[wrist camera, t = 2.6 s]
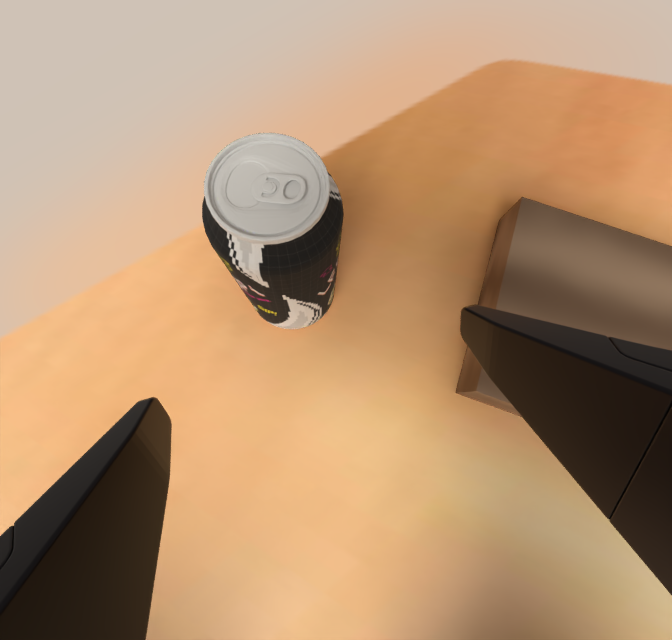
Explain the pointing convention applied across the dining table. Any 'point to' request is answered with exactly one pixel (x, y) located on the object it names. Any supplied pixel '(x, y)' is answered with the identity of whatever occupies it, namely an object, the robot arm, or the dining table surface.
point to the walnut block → (573, 283)
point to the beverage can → (276, 225)
